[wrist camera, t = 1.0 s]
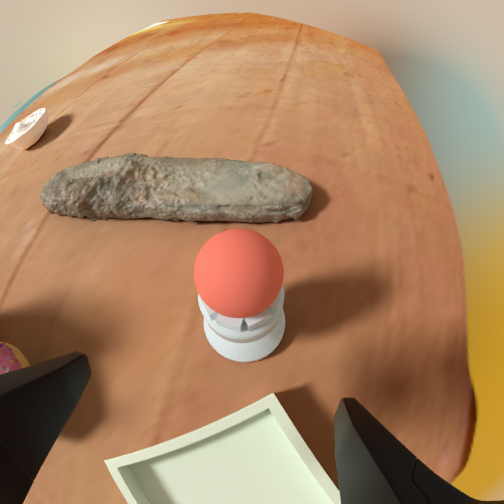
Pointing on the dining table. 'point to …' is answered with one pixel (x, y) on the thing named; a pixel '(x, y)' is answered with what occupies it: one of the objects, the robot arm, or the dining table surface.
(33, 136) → the white bowl
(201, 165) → the long grey stone
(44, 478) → the dining table surface
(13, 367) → the cupcake
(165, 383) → the dining table surface
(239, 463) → the tray
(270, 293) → the ball
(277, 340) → the chess rook
